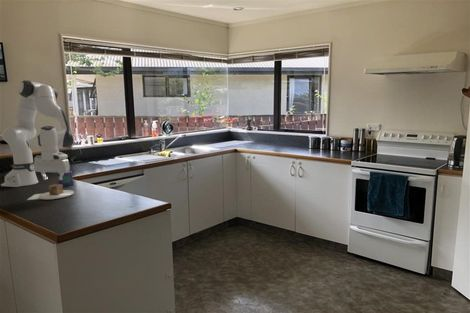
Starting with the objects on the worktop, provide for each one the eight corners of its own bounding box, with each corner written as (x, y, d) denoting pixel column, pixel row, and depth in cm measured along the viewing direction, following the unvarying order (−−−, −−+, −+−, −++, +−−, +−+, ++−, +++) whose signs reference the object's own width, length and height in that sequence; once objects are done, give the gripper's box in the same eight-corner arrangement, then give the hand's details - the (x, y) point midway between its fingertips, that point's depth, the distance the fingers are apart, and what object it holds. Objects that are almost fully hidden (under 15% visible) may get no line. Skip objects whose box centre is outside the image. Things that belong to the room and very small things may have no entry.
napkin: (27, 200, 198) (26, 199, 198) (35, 194, 210) (35, 194, 210) (42, 198, 200) (42, 198, 200) (49, 193, 211) (49, 193, 211)
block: (49, 195, 203) (48, 186, 202) (55, 192, 208) (54, 184, 207) (57, 195, 202) (56, 186, 201) (63, 192, 207) (62, 184, 206)
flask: (72, 184, 234) (70, 168, 232) (74, 185, 232) (72, 168, 230) (58, 187, 226) (56, 170, 225) (60, 188, 225) (58, 171, 223)
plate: (31, 200, 198) (31, 198, 198) (53, 191, 215) (53, 189, 215) (60, 200, 195) (60, 198, 194) (80, 192, 212) (80, 190, 212)
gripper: (30, 156, 200) (32, 180, 202) (62, 156, 196) (65, 181, 198) (38, 154, 206) (40, 178, 208) (70, 154, 202) (72, 179, 204)
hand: (53, 179), depth 203 cm, fingers open, 8 cm apart
